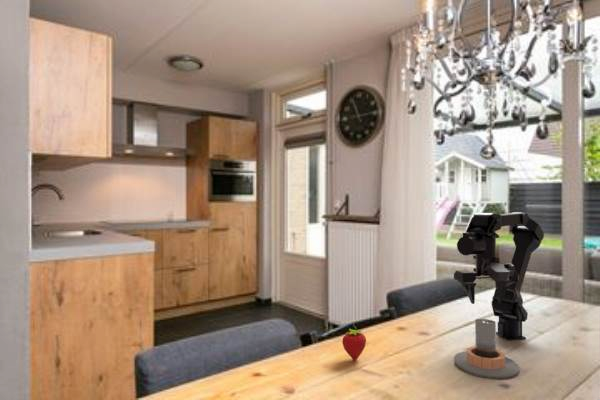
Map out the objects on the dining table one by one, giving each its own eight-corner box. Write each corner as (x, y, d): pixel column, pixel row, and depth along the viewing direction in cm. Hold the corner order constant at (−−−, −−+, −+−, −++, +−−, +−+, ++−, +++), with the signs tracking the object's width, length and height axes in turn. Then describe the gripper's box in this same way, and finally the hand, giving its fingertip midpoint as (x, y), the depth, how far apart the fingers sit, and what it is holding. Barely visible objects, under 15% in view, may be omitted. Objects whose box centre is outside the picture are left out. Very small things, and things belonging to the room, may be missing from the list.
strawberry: (337, 360, 111) (337, 325, 111) (356, 353, 116) (355, 319, 116) (352, 366, 106) (352, 330, 106) (371, 359, 111) (370, 324, 111)
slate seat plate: (493, 352, 115) (493, 340, 115) (533, 376, 100) (533, 362, 100) (443, 356, 113) (442, 344, 113) (476, 381, 97) (476, 367, 97)
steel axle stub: (481, 356, 110) (481, 317, 110) (499, 362, 106) (499, 322, 106) (472, 361, 107) (471, 321, 107) (489, 367, 103) (489, 325, 103)
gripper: (473, 257, 112) (474, 311, 112) (531, 255, 115) (532, 308, 115) (452, 252, 123) (453, 302, 123) (506, 250, 126) (506, 299, 126)
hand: (486, 303), depth 122 cm, fingers open, 9 cm apart
